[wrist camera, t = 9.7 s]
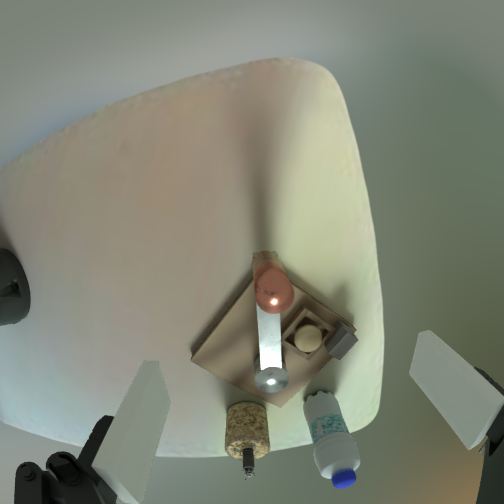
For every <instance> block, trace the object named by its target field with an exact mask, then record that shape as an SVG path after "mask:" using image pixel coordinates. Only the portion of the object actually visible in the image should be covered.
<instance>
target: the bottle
mask: <svg viewBox="0 0 504 504" xmlns="http://www.w3.org/2000/svg"><path fill="white" fill-rule="evenodd" d="M303 410H304V415H305V418H306V421H307V423H308V426H309V429H310V433H311V437H312V441H313V445H314V448H315V450H314V456H315V462H316V464H317V466H318V468H319V471H320V473H321V475H322V476H323V477H325V478H330V479H331V480H332V483H333V485H334V487H336V488H346V487H348V486H350V485H352V484H353V483H354V482H355V481H356V474H355V472H354V470H356V469H357V468H358V466H359V465H360V457H359V453H358V446H357V444H356V443H355V440H354V439H353V438H352V437H351V436H350V434H349V431H348V429H347V426H346V424H345V421H344V419H343V417H342V413H341V410H340V407H339V404H338V401H337V399H336V398H335V396H334V395H333V394H332V393H330V392H326V393H324V392H322V391H318V392H317V395H315V396H313V395H309V396H308V398H307V401H306V402H305V403H304V405H303Z"/></svg>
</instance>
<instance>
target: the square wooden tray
mask: <svg viewBox="0 0 504 504" xmlns="http://www.w3.org/2000/svg"><path fill="white" fill-rule="evenodd" d="M290 283H291V285H292V287H293V289H294V294H295V296H294V301H293V303H292V305H291V306H290V307H289V308H288V309H287V310H286V311H284V312H282V313H280V328H281V361H282V362H283V363H284V364H285V365H286V368H287V372H288V376H289V382H288V384H287V386H286V387H285V388H284V389H282V390H280V391H278V392H274V393H267V392H263V391H261V390H259V389H258V388H257V387H256V385H255V376H254V370H255V368H256V366H257V365H258V364H259V363H260V349H259V335H258V321H257V307H256V298H255V289H254V279H253V278H252V279H251V280H250V282H249V283H248V284H247V286H246V287H245V288H244V289H243V291H242V292H241V293H240V295H239V296H238V297H237V299H236V300H235V301H234V302H233V304H232V305H231V306H230V308H229V309H228V310H227V311H226V313H225V314H224V315H223V317H222V318H221V319H220V320H219V322H218V323H217V324H216V326H215V327H214V328H213V329H212V331H211V332H210V333H209V335H208V336H207V337H206V338H205V340H204V341H203V342H202V343H201V345H200V346H199V347H198V349H197V350H196V351H195V352H194V354H193V355H192V357H191V361H192V362H193V363H195V364H197V365H199V366H200V367H202V368H204V369H206V370H207V371H209V372H211V373H213V374H214V375H216V376H218V377H220V378H222V379H224V380H225V381H227V382H229V383H231V384H233V385H235V386H237V387H239V388H241V389H243V390H245V391H247V392H249V393H251V394H253V395H255V396H257V397H259V398H261V399H263V400H265V401H267V402H269V403H272V404H274V405H276V406H278V407H282V406H283V405H284V404H285V403H286V402H287V401H288V400H289V399H291V398H292V397H293V396H294V395H295V394H296V393H297V392H298V391H299V390H300V389H301V388H302V387H303V386H304V385H305V384H306V383H307V382H308V381H309V380H311V379H312V378H313V377H314V376H315V375H316V374H317V373H318V372H319V371H320V369H321V368H322V367H323V366H324V365H325V364H326V363H327V362H328V361H329V360H330V359H331V358H332V357H335V358H337V359H339V360H340V359H341V358H342V357H343V356H344V355H345V354H346V353H347V352H348V351H349V350H350V349H351V348H352V346H353V345H354V344H355V343H356V342H357V341H358V339H357V337H356V336H355V335H354V333H355V331H356V329H355V327H354V326H353V325H351V324H350V323H349V322H347V321H346V320H344V319H343V318H342V317H340V316H339V315H337V314H336V313H334V312H333V311H332V310H330V309H329V308H327V307H326V306H325V305H323V304H322V303H320V302H319V301H317V300H316V299H315V298H313V297H312V296H310V295H309V294H308V293H306V292H305V291H303V290H302V289H300V288H299V287H298V286H296V285H295V284H293V283H292V282H291V281H290ZM307 324H310V325H314V326H316V327H317V328H318V329H319V330H320V331H321V334H322V342H321V344H320V346H319V347H318V348H317V349H316V350H314V351H312V352H304V351H301V350H300V349H298V348H297V346H296V345H295V342H294V335H295V332H296V331H297V329H298V328H300V327H301V326H303V325H307Z"/></svg>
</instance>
